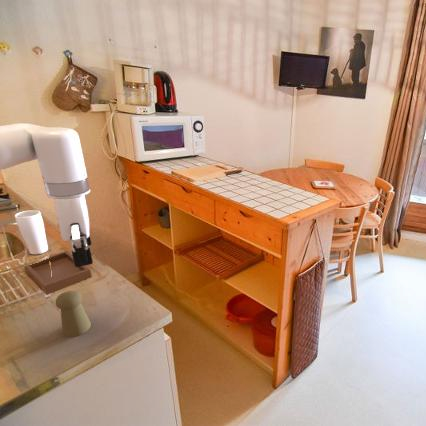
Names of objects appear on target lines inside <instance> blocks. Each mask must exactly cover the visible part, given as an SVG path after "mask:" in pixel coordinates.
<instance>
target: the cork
mask: <svg viewBox="0 0 426 426" xmlns="http://www.w3.org/2000/svg"><path fill="white" fill-rule="evenodd" d="M82 301H83V296H82V294H81V293H80V291H77V290H68V291H64V292H62V293H61V294H59V295H58V296H57V297H56V299H55V306H56V307H57V308H58V309H59V310H60V319H61V328H62V335H63V336H64V337H66V338H75V337H79V336H81V335H83V334H85V333H86V332H88V331H89V330H90V329H91V326H92V323H91V321H90V319H89V316H88V314H87V312H86V311H85V308H84V306H83V304H82Z"/></svg>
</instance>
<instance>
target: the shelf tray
mask: <svg viewBox="0 0 426 426" xmlns="http://www.w3.org/2000/svg"><path fill="white" fill-rule="evenodd" d="M49 256H50V258H49V259H46V260H43V261H41V262H39V263H35V264H32V265H28V266H25V267H24V266H23V268H24V271H25V273H26V274H27V275H28V276H29V277H30V278H31V280H32V281H34V283H35V284H36V285H37V286H38V287H39V288H40V289H41V290H42V291H43V290H44V291H43V292H44V293H45V294H46V295H50V294H52V293H54V292H56V291H59V290H62V289H64V288H67V287H70V286H73V285H75V284H77V283H81V282H83V281H85V280H88V279H91V278H93V276H92V271H91V269H90V268H89V267H88V265H85V266H80V267H76V266H75V263H74V259H73V255H72V252H70V251H68V250H64V251H61V252H58V253H53V254H51V255H49ZM49 261H50V262H51V269H50V265H49ZM51 270H52V277H51Z"/></svg>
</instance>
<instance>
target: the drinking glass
mask: <svg viewBox="0 0 426 426" xmlns="http://www.w3.org/2000/svg"><path fill="white" fill-rule="evenodd" d="M14 219H15V222H16V226H17V228H18V231H19V232H20V234H21V235H20V236H21V237H22V239H23V241H24V243H25V246H26V249H27V250H28V253H29V254H30V255H33V256H34V255H35V256H37V255H41V254H44V253H46V252H47V251H48V250H49V246H48V241H47V236H46V229H45V223H44V219H43V216H42V213H41V211H40V210H37V209H30V210H23V211H20V212H17V213H15V214H14Z"/></svg>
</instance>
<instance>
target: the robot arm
mask: <svg viewBox="0 0 426 426" xmlns="http://www.w3.org/2000/svg"><path fill="white" fill-rule="evenodd" d="M83 153H84V152H83V149H82V145H81V139H80V136H79V134H78V132H77V131H76V130H74V129H72V128H69V127H59V126H50V127H49V126H44V125H43V126H42V125H37V124H32V123H27V122H25V123H24V122H18V123H17V122H16V123H11V124H4V125H0V171H1V170H6V169H10V168H12V167H15V166H18V165H21V164H25V163H28V162H31V161H35V160H37V163H38V166H39V170H40V173H41V178H42V181H43V185H44V189H45V192H46V196H47V197H48V198H50V199H53V200H54V202H53V203H54V207H55V208H54V209H55V212H56V217H57V223H58V226H59V231H60V236H61V241H62V242H64V243H67V242H69V241H70V246H71V254H72V255H73V259H74V263H75V266H76V267H80V266H89V265H93V264H94V261H93V256H92V253H91V247H90V246H91V245H92V240H91V235H90V217H89V211H88V210H89V209H88V206H87V200H86V195H88V194H89V193H91V187H90V182H89V177H88V174H87V168H86V165H85V164H86V163H85V159H84V154H83Z"/></svg>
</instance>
